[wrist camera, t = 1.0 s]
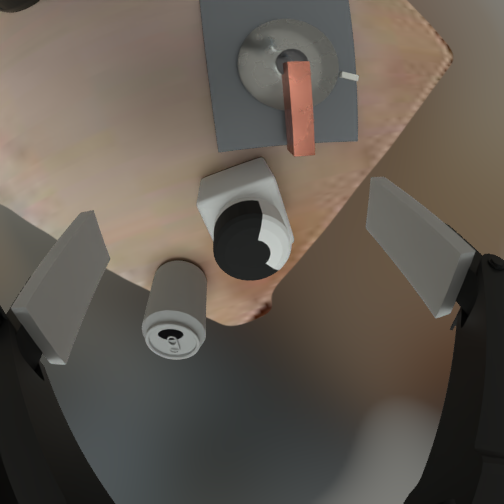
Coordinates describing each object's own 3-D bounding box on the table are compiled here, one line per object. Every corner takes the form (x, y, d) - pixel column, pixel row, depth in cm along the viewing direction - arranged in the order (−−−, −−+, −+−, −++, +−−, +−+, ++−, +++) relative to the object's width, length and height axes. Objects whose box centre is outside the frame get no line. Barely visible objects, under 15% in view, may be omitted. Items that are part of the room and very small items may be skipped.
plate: (200, 1, 21) (198, -5, 19) (342, 0, 22) (350, -4, 20) (218, 149, 31) (218, 154, 29) (352, 138, 32) (360, 142, 30)
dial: (232, 25, 22) (235, 13, 18) (327, 24, 22) (346, 15, 18) (246, 149, 30) (251, 160, 25) (335, 142, 30) (353, 153, 26)
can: (203, 254, 38) (199, 319, 28) (210, 296, 42) (210, 362, 32) (149, 259, 38) (130, 323, 28) (161, 300, 42) (150, 364, 32)
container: (223, 232, 37) (226, 301, 26) (199, 178, 33) (189, 231, 22) (281, 212, 36) (309, 274, 25) (262, 155, 32) (286, 196, 21)
